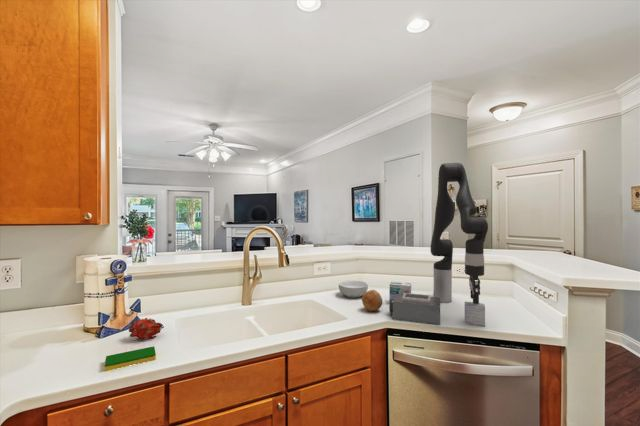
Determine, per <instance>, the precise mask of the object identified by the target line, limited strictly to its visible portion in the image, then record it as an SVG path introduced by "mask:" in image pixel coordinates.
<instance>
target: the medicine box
mask: <svg viewBox="0 0 640 426" xmlns="http://www.w3.org/2000/svg"><path fill="white" fill-rule="evenodd" d="M464 324H466V325H473V326H482V327H486V305H485V303H483V302H482V303H481V302H479V304H473V301H464Z"/></svg>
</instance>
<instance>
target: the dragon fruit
mask: <svg viewBox="0 0 640 426" xmlns="http://www.w3.org/2000/svg"><path fill="white" fill-rule="evenodd" d="M164 328H165V327H164V324H162V323H161V322H156V320H155V319H153V318H147V317H145V318H138V319H136V320H134V322H132V324H131V325H130V326H129V329H128V333H129V338H130V337H131V338H137V340H139V341H141V342H142V341H143V340H146V339H148V340H154V339H155V338H157V336H156V335H158V334H160V333H161V330H162V329H164Z"/></svg>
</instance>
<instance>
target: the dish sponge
mask: <svg viewBox="0 0 640 426" xmlns="http://www.w3.org/2000/svg"><path fill="white" fill-rule="evenodd" d="M156 356H157V354H156V348H155V346H148V347H144V348H139V349H134V350H129V351H125V352H120V353H115V354H111V355H106V357H105V360H104V361H105V362H104V372H109V370H110V371H114V370H118V369H117V368H119V369H121V368H122V367H123V368H126V366H127V367H130V366H129V365H132V366H134V365H133V364H136V365H139V364H138V363H140V364H144V363H143V362H145V363H149V362H153V361H155V360H156V359H157V357H156ZM148 361H149V362H148ZM113 369H114V370H113Z"/></svg>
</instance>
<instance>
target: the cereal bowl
mask: <svg viewBox="0 0 640 426" xmlns="http://www.w3.org/2000/svg"><path fill="white" fill-rule="evenodd" d="M368 289H369V284H368V283H367V282H365V281H363V280H343V281H340V282H339V283H338V290H339V292H340V293H341V294H342V295H345V296H346V297H348V298H353V299H354V298H355V299H357V298H360V297H362V296H364V294H365V293H366V292H367V291H368Z"/></svg>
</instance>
